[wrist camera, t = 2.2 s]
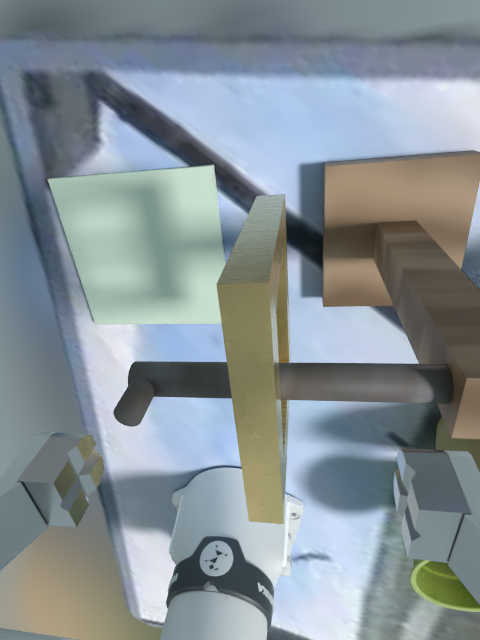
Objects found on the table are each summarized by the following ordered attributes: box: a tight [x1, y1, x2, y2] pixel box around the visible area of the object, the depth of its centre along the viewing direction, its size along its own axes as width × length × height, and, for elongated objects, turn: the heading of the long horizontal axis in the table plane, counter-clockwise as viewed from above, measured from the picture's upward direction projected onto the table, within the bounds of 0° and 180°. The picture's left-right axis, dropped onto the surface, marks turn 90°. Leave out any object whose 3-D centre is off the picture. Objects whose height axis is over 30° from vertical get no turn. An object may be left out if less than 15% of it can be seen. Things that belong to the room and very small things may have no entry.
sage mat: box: [48, 165, 226, 325], centre depth 36 cm, size 15×15×1 cm
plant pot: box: [410, 559, 480, 612], centre depth 42 cm, size 12×12×11 cm
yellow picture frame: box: [216, 194, 291, 524], centre depth 19 cm, size 12×2×12 cm, turn 6°
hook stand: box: [114, 151, 480, 439], centre depth 24 cm, size 12×20×22 cm, turn 96°
